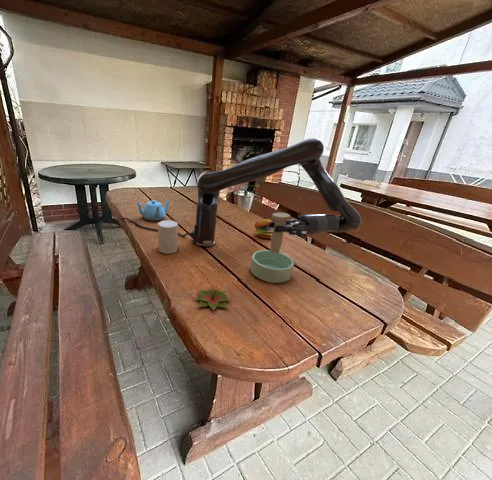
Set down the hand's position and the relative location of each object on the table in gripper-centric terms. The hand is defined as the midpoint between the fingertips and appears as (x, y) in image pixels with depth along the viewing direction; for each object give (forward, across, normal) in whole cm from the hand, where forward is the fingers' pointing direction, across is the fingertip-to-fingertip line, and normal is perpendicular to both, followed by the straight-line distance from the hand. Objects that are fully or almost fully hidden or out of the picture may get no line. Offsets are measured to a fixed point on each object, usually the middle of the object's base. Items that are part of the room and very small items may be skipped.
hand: (272, 227), depth 94 cm
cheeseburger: (-19, -34, +20) cm, 44 cm away
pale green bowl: (-3, 0, +19) cm, 20 cm away
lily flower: (+25, +12, +19) cm, 34 cm away
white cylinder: (+33, -27, +19) cm, 47 cm away
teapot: (+34, -67, +19) cm, 78 cm away
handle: (-3, 0, +11) cm, 11 cm away
